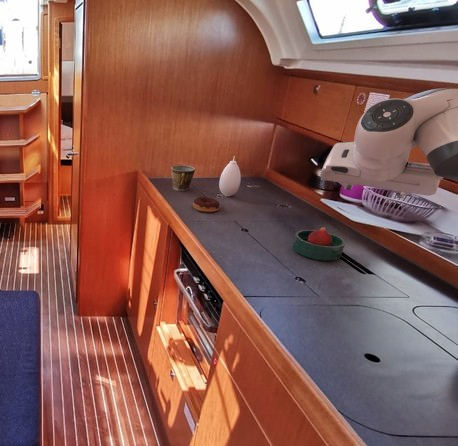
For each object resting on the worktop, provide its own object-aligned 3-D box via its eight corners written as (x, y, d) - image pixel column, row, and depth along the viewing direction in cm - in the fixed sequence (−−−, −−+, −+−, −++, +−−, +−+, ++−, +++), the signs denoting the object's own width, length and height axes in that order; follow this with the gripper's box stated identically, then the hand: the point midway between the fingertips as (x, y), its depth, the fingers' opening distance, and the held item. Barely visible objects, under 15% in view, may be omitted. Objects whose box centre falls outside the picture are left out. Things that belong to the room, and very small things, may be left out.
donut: (215, 215, 152) (217, 205, 151) (189, 210, 158) (190, 201, 156) (221, 207, 160) (223, 198, 158) (196, 202, 165) (197, 194, 164)
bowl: (335, 247, 125) (339, 232, 123) (345, 265, 115) (350, 250, 113) (289, 241, 130) (293, 227, 128) (295, 258, 120) (299, 243, 118)
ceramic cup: (168, 185, 188) (171, 164, 184) (191, 186, 185) (194, 165, 181) (169, 194, 177) (172, 172, 172) (193, 195, 173) (196, 173, 169)
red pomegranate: (309, 254, 121) (316, 231, 117) (301, 246, 126) (308, 223, 122) (331, 255, 119) (339, 232, 116) (322, 247, 124) (329, 224, 121)
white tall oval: (240, 199, 167) (248, 157, 160) (220, 198, 168) (227, 157, 161) (234, 192, 174) (241, 152, 167) (215, 192, 175) (221, 152, 168)
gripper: (453, 154, 78) (439, 188, 88) (327, 142, 92) (327, 173, 102) (443, 181, 77) (430, 213, 87) (317, 165, 91) (317, 193, 101)
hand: (373, 191), depth 94 cm, fingers open, 8 cm apart
